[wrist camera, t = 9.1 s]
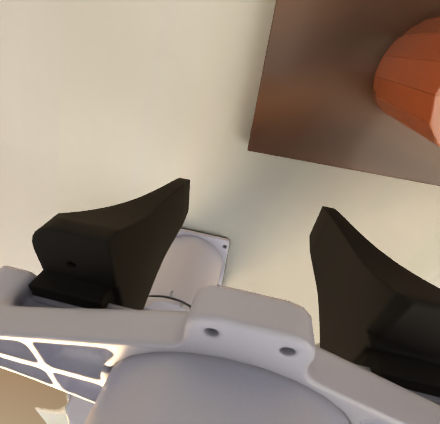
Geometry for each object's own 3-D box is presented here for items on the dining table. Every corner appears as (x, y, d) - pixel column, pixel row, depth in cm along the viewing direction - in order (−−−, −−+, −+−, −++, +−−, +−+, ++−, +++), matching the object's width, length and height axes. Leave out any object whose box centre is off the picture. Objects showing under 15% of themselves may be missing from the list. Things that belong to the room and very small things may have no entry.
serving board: (491, 188, 20) (506, 198, 19) (248, 144, 21) (247, 150, 20) (715, -63, 12) (766, -75, 10) (296, -104, 13) (299, -119, 12)
